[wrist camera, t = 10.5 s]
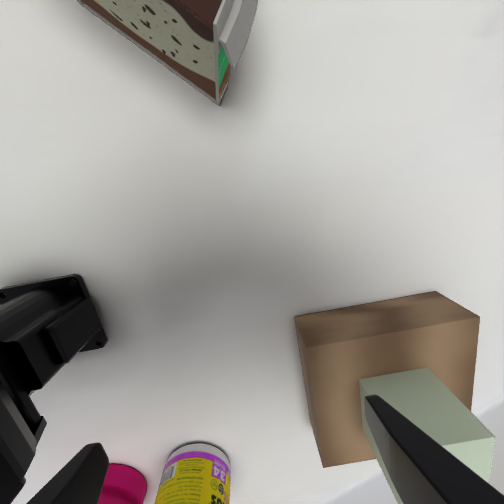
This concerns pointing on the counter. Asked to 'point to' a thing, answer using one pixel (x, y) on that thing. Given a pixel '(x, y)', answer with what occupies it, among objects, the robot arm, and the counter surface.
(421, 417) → the sage cube
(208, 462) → the supplement bottle
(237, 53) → the food container
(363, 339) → the walnut block
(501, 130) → the counter surface
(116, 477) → the pepper mill
